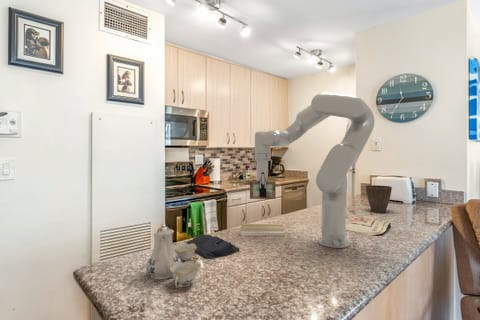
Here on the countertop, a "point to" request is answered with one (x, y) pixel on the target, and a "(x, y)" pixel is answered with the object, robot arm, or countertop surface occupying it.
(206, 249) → the dark folded cloth
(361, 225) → the grape print plaque
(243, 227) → the ledge board
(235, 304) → the countertop surface
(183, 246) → the chinaware
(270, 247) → the countertop surface
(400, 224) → the countertop surface
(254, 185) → the brown rectangular panel
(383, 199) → the plant pot
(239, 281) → the countertop surface
